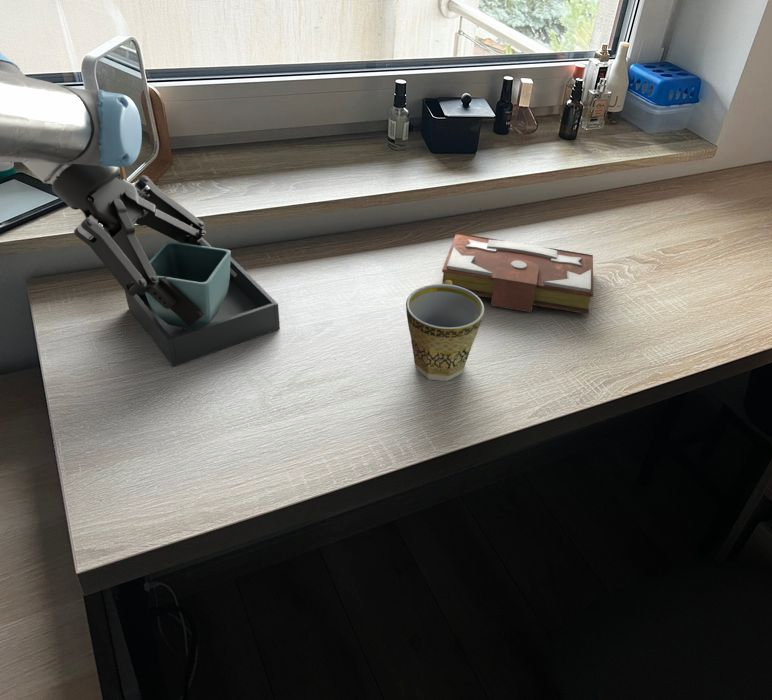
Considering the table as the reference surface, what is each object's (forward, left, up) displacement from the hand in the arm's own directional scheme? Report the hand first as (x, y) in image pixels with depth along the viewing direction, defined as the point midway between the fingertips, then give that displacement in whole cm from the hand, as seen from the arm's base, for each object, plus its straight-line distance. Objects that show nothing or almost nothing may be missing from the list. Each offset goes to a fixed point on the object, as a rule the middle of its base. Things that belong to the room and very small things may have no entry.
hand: (214, 299), depth 95 cm
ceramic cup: (+22, -21, -6) cm, 31 cm away
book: (+44, -13, -6) cm, 47 cm away
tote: (0, +4, -6) cm, 7 cm away
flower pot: (-2, +2, -4) cm, 5 cm away
